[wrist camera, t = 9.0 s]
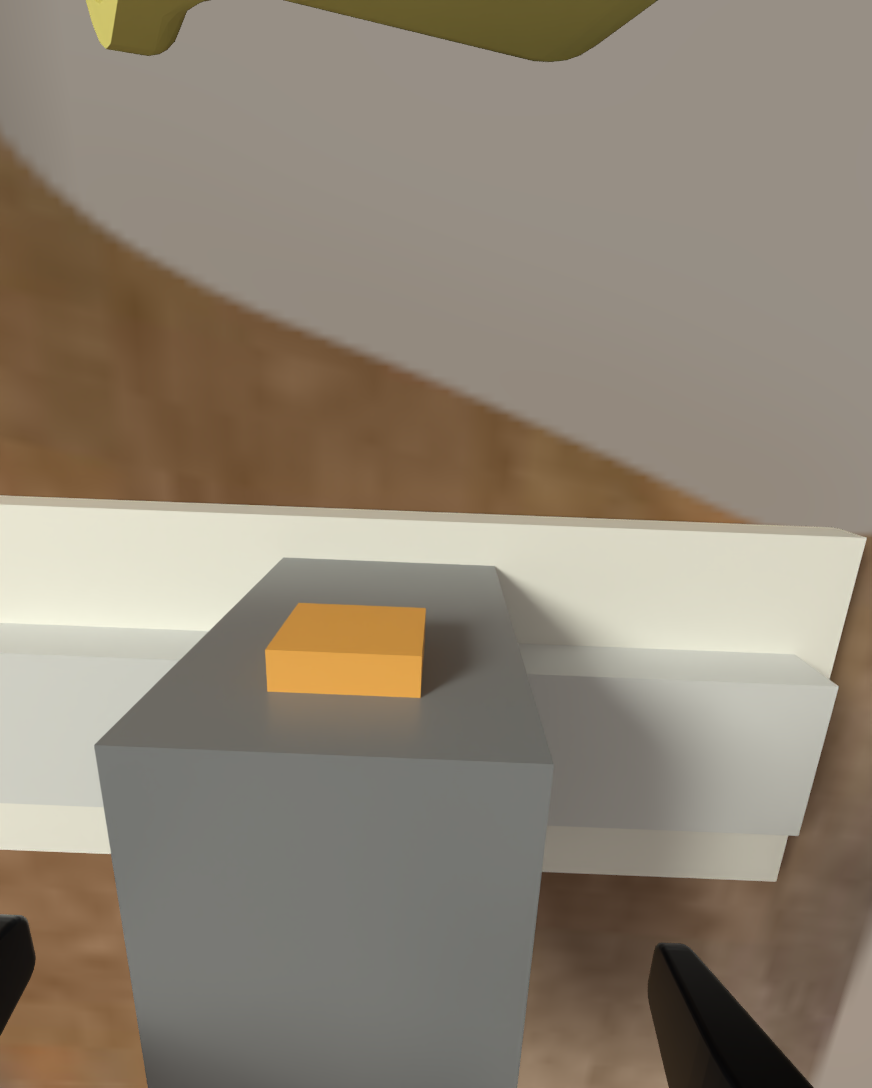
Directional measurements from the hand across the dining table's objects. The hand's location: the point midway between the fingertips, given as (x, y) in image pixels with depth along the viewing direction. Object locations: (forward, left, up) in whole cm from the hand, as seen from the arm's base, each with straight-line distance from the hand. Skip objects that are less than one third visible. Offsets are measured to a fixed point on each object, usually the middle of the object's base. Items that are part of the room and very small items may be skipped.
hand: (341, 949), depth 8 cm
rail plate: (0, 0, -7) cm, 7 cm away
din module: (0, 0, -6) cm, 6 cm away
